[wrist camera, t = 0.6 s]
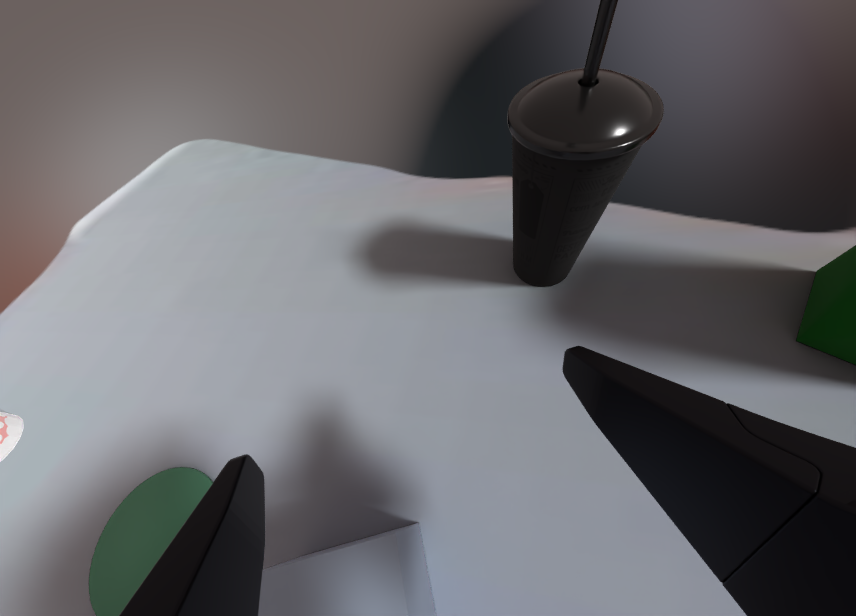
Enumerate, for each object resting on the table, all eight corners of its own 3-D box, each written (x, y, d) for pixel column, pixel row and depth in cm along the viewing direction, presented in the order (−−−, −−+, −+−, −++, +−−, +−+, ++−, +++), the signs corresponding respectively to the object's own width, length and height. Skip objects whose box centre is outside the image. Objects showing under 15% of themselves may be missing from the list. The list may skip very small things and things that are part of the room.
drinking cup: (592, 302, 26) (803, -66, 9) (496, 299, 27) (520, -22, 10) (582, 232, 30) (718, -124, 13) (498, 232, 31) (518, -85, 14)
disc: (213, 608, 20) (211, 610, 19) (72, 649, 20) (69, 650, 19) (227, 453, 24) (225, 452, 24) (113, 485, 24) (110, 485, 24)
